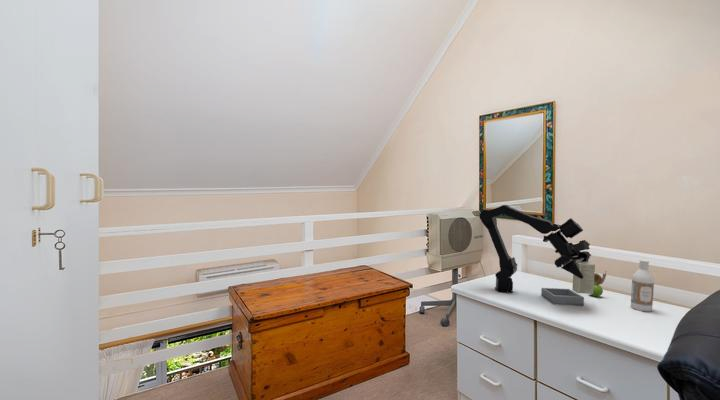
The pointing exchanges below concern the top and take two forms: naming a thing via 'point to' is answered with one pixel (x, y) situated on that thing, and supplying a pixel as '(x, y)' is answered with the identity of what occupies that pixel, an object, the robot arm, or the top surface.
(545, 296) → the box
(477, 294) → the top surface
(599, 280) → the snail figurine
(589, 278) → the skincare box
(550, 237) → the robot arm
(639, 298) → the bath foam
